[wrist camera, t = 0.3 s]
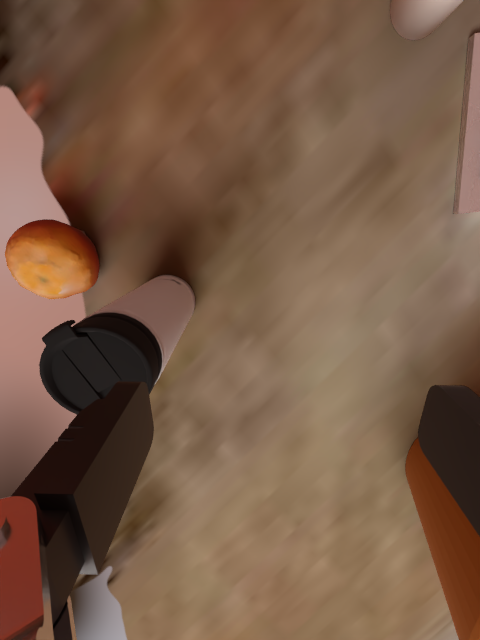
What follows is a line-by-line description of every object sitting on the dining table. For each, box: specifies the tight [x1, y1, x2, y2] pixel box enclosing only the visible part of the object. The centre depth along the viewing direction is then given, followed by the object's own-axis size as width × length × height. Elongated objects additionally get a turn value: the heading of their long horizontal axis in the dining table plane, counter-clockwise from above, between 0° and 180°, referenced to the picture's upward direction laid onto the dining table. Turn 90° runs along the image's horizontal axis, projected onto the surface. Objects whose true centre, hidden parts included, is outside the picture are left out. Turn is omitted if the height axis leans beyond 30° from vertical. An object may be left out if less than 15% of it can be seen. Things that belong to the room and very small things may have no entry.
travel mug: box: [40, 275, 195, 414], centre depth 26 cm, size 6×7×20 cm
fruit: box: [5, 220, 99, 299], centre depth 31 cm, size 8×8×8 cm
